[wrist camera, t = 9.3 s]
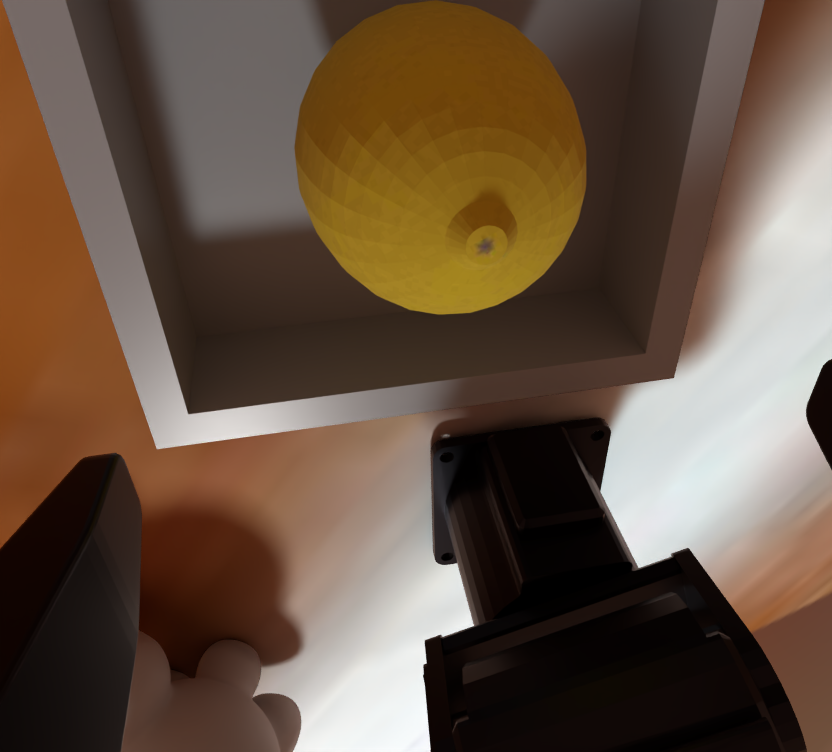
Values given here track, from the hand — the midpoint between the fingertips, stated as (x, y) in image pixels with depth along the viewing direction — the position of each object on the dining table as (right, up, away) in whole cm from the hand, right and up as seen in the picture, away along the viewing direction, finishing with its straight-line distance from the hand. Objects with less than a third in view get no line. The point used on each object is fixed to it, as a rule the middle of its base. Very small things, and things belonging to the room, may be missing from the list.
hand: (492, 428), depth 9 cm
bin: (-2, +8, +9) cm, 12 cm away
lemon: (-1, +7, +9) cm, 12 cm away
